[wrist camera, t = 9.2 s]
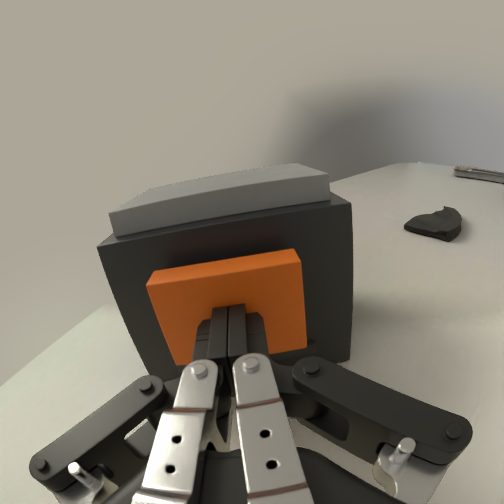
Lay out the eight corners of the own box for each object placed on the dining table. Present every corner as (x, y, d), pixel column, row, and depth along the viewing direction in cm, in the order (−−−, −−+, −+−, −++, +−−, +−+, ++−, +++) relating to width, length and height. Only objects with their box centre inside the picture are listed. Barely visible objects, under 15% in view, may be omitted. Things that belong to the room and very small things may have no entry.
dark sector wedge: (474, 221, 37) (475, 212, 37) (448, 243, 32) (449, 232, 31) (436, 211, 44) (436, 203, 44) (401, 230, 39) (401, 219, 38)
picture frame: (456, 172, 83) (455, 164, 81) (513, 180, 65) (513, 172, 64) (452, 177, 75) (452, 168, 73) (516, 186, 57) (517, 177, 56)
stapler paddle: (180, 347, 15) (153, 270, 14) (301, 330, 15) (294, 247, 14) (175, 366, 14) (144, 285, 12) (307, 348, 14) (301, 260, 12)
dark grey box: (176, 313, 27) (142, 190, 23) (316, 291, 27) (304, 161, 23) (154, 390, 18) (85, 223, 13) (351, 363, 18) (352, 175, 13)
